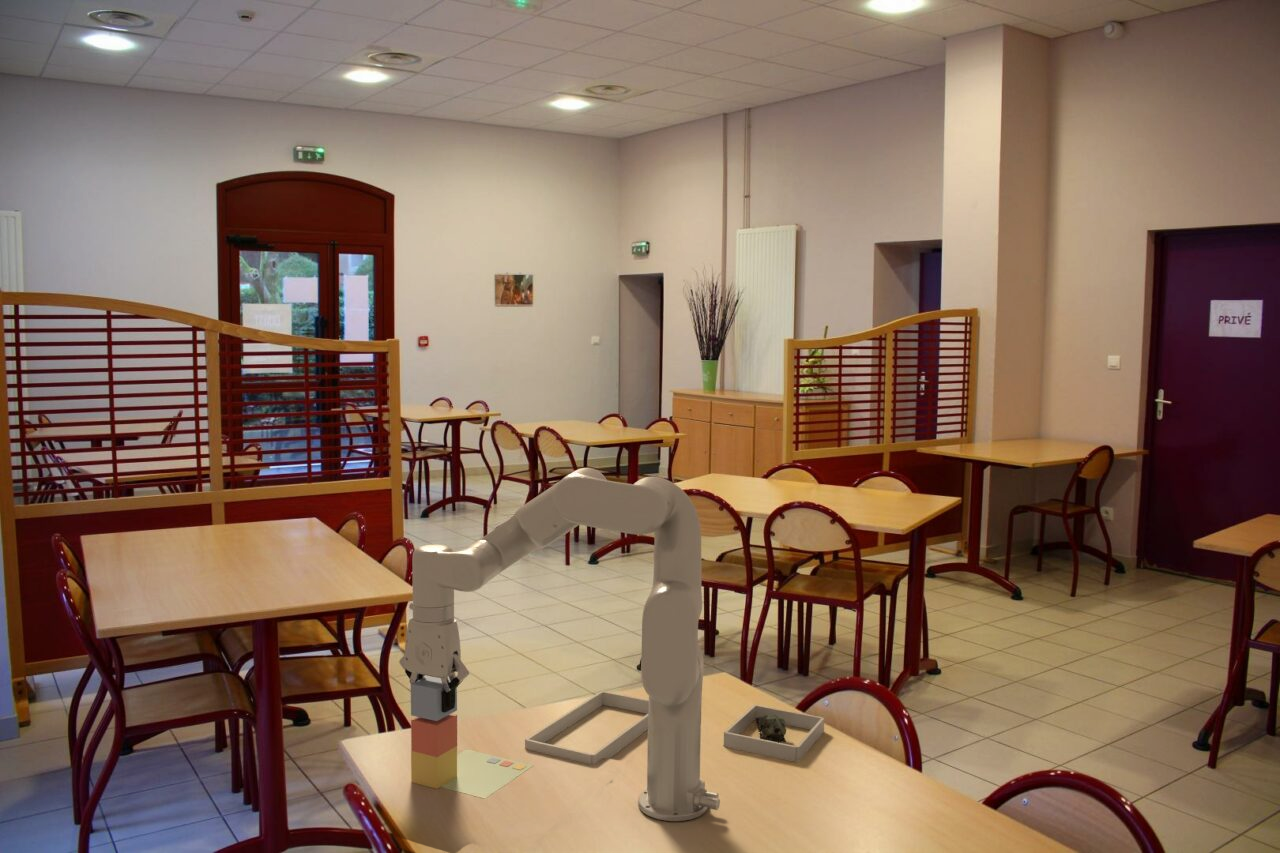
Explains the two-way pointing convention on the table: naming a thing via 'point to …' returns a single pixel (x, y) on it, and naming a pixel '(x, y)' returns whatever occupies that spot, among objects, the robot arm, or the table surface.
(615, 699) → the beige open rectangular frame
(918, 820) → the table surface
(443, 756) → the ochre block
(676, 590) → the robot arm
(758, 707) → the shell frame
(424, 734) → the red block
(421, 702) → the slate block
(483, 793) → the building board
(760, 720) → the dark grey lumpy lump
